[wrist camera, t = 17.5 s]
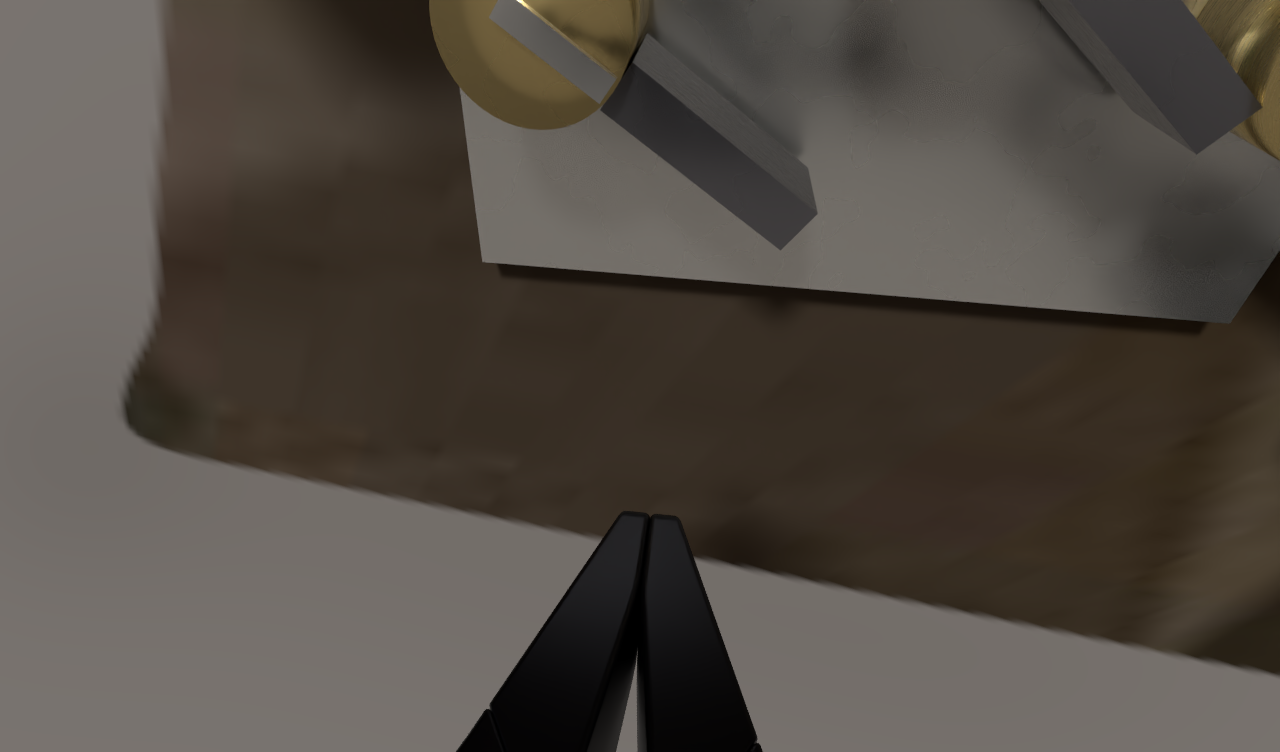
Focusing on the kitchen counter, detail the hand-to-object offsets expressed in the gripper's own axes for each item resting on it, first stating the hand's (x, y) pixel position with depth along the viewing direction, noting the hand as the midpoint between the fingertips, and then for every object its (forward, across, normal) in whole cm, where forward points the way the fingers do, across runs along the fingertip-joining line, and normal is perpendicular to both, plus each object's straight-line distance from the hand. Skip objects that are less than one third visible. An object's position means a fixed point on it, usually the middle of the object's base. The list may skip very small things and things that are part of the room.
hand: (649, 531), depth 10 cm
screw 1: (+11, +1, -4) cm, 12 cm away
